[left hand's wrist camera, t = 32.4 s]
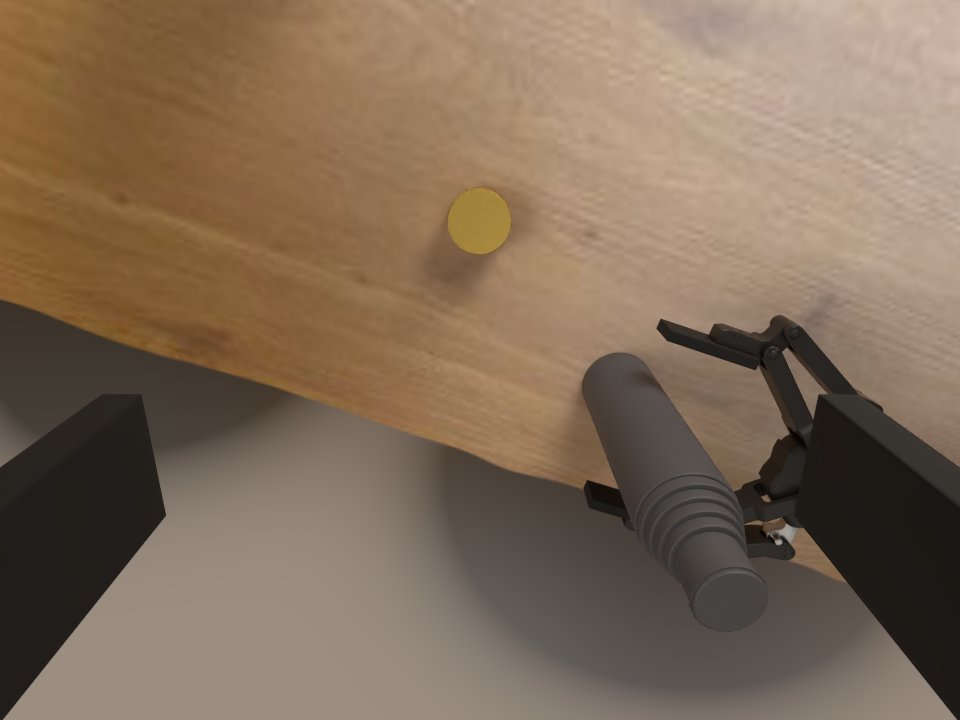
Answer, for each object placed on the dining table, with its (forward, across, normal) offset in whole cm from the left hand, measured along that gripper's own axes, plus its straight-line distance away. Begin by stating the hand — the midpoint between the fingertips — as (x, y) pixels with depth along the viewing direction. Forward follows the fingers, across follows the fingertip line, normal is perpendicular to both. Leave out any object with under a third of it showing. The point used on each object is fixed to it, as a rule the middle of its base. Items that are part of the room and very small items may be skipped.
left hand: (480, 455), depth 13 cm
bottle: (+36, +11, -14) cm, 40 cm away
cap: (+35, 0, 0) cm, 35 cm away
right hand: (+30, +10, -13) cm, 34 cm away
